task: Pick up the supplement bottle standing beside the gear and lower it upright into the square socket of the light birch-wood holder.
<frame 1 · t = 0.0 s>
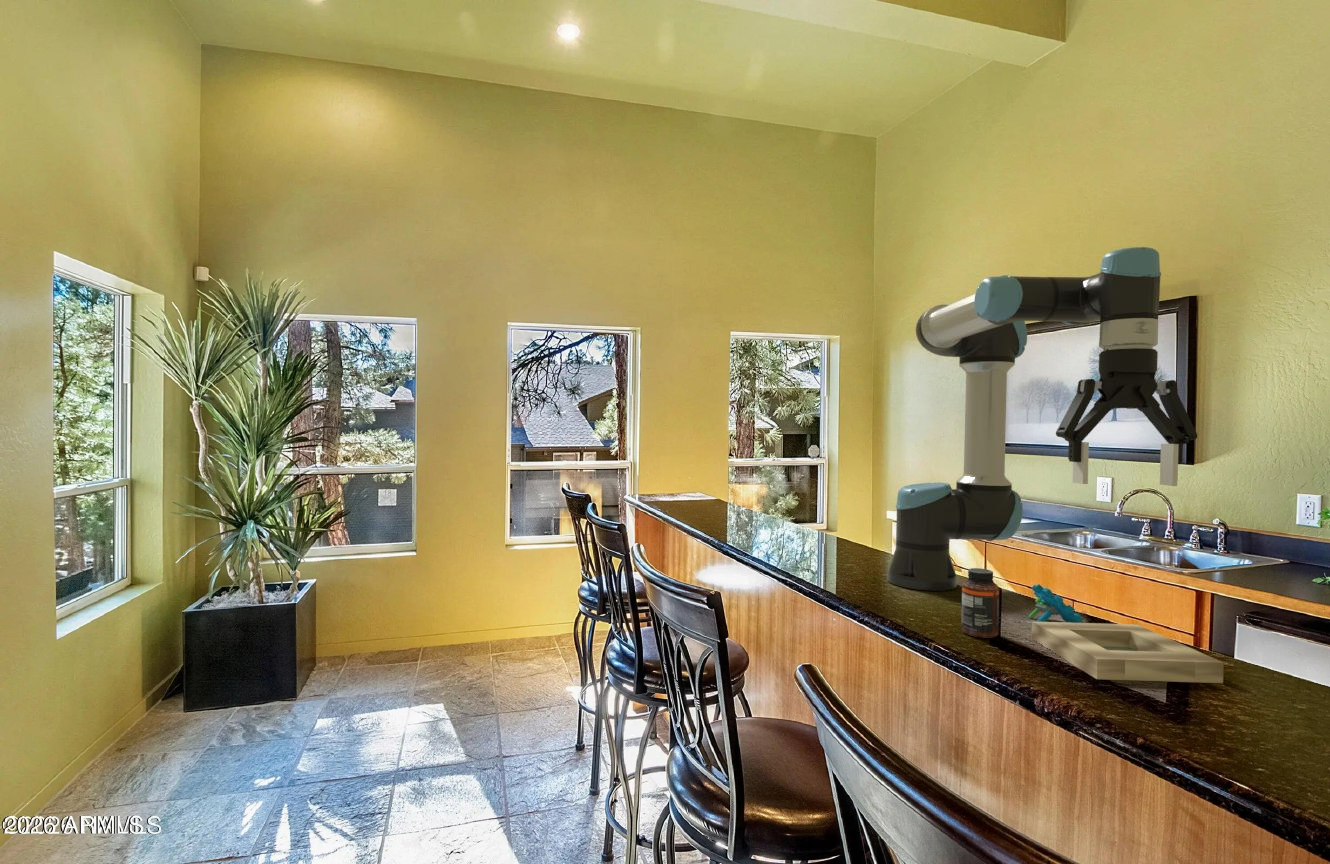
hand: (1124, 484, 102), 28 cm above the countertop, tool pointing down, fingers open, 13 cm apart
socket holder: (1118, 659, 104), on the countertop
gear: (1054, 626, 122), on the countertop
supplement bottle: (979, 635, 115), on the countertop
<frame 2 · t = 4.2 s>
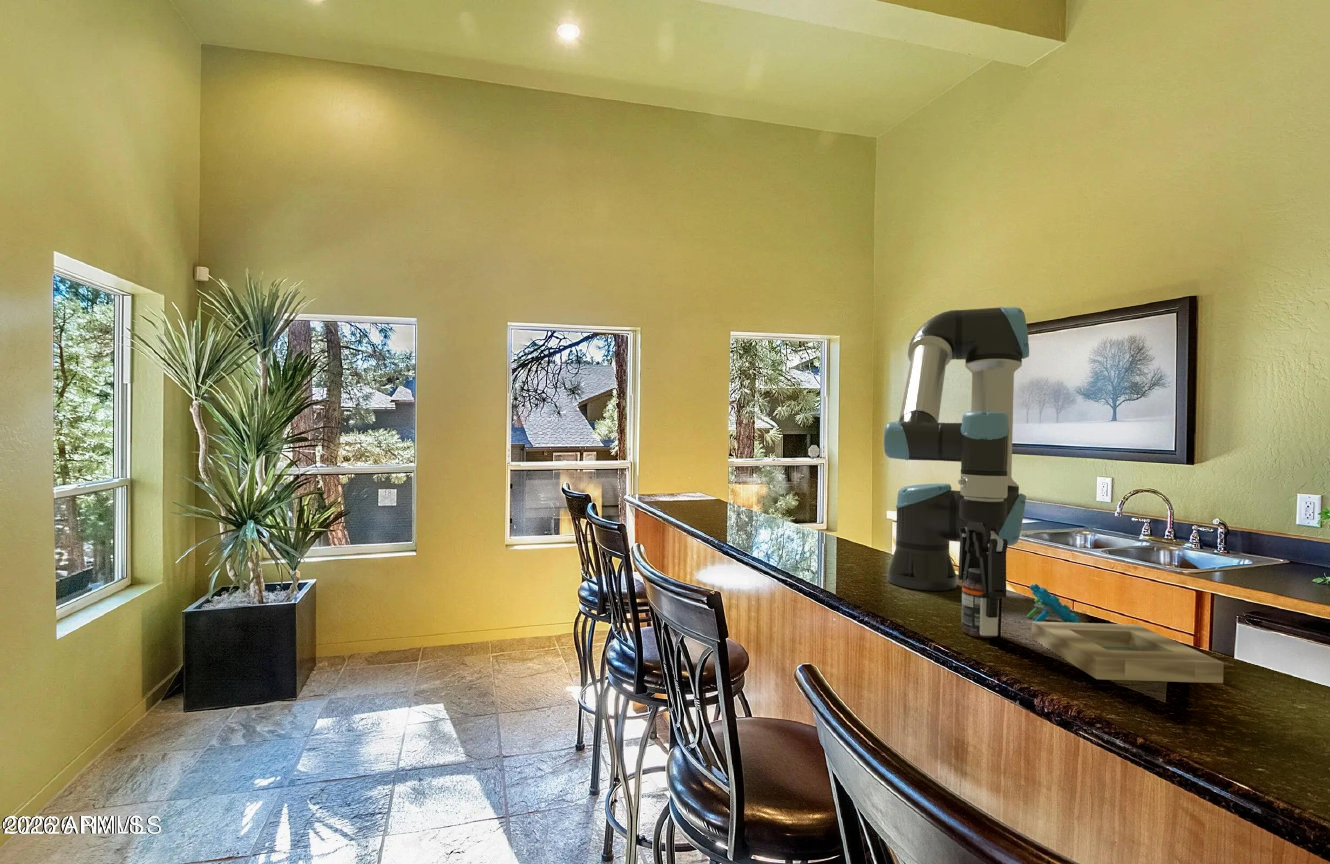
hand: (979, 628, 115), 1 cm above the countertop, tool pointing down, fingers closed on supplement bottle, 6 cm apart
supplement bottle: (979, 634, 115), on the countertop, touching gripper
everything else where it was.
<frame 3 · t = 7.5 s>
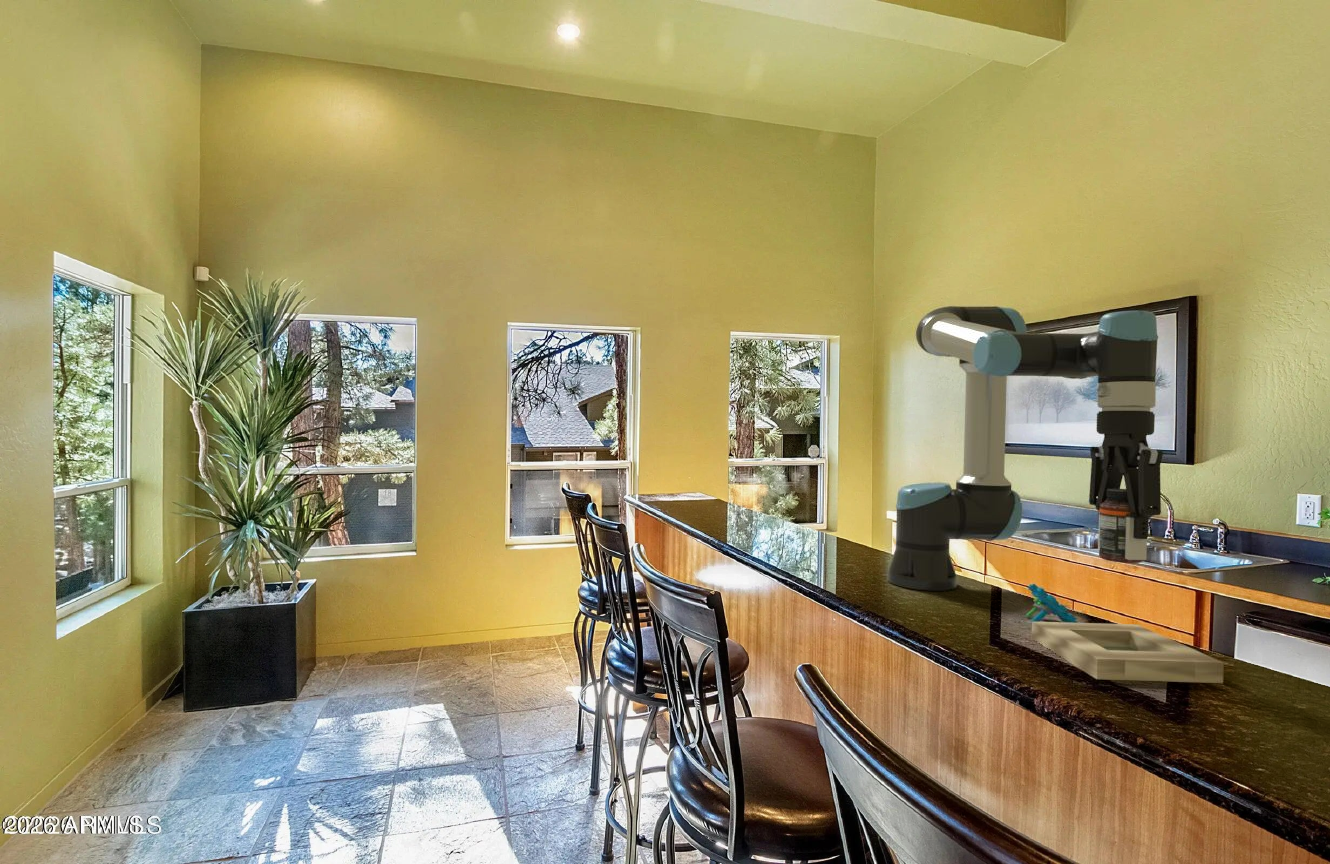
hand: (1121, 554, 104), 17 cm above the countertop, tool pointing down, fingers closed on supplement bottle, 6 cm apart
supplement bottle: (1120, 561, 104), point 16 cm above the countertop, touching gripper
everything else where it was.
when the fingers open (3 cm above the countertop, at t = 11.3 s): supplement bottle drops 2 cm, resting on socket holder.
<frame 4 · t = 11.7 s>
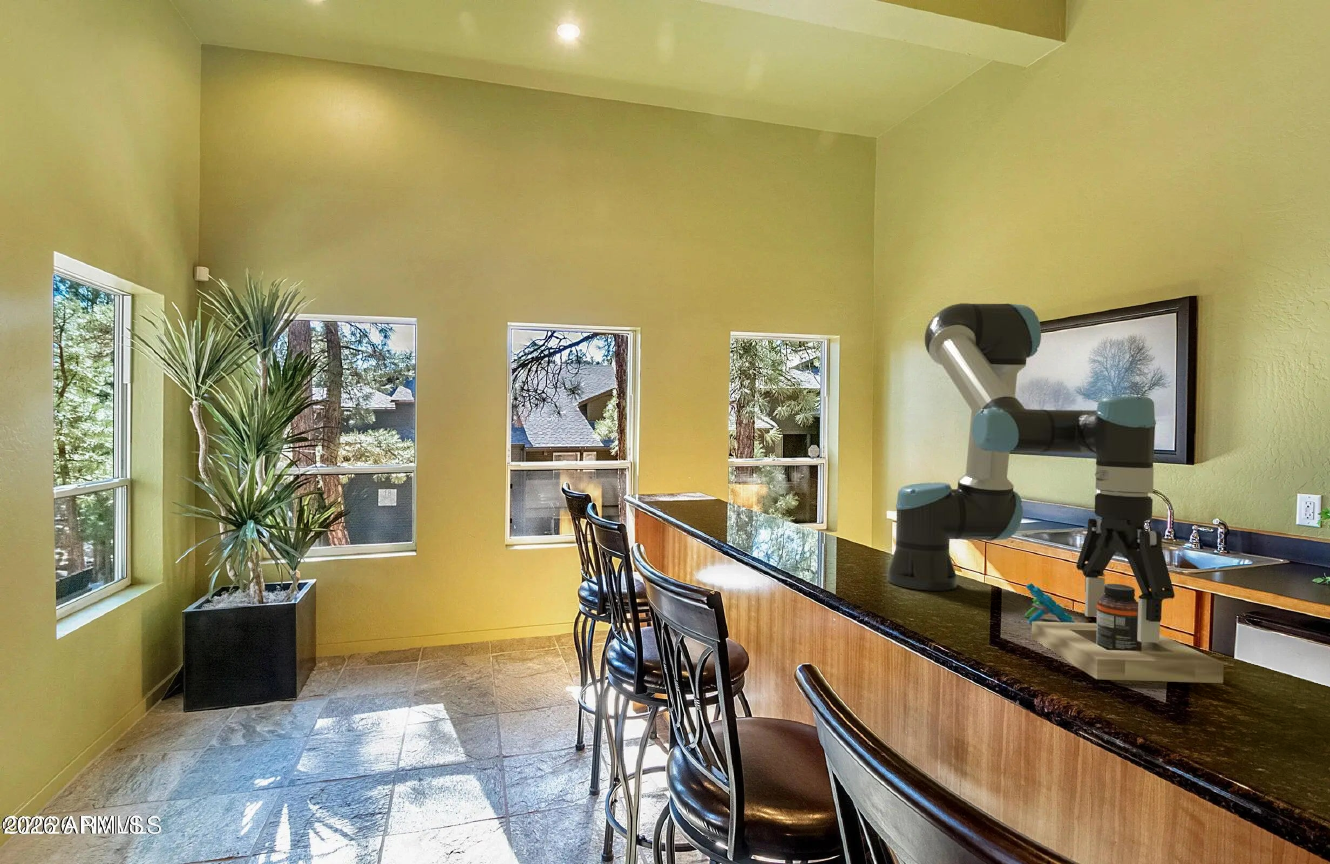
hand: (1119, 628, 104), 5 cm above the countertop, tool pointing down, fingers open, 12 cm apart
supplement bottle: (1118, 658, 104), resting on socket holder
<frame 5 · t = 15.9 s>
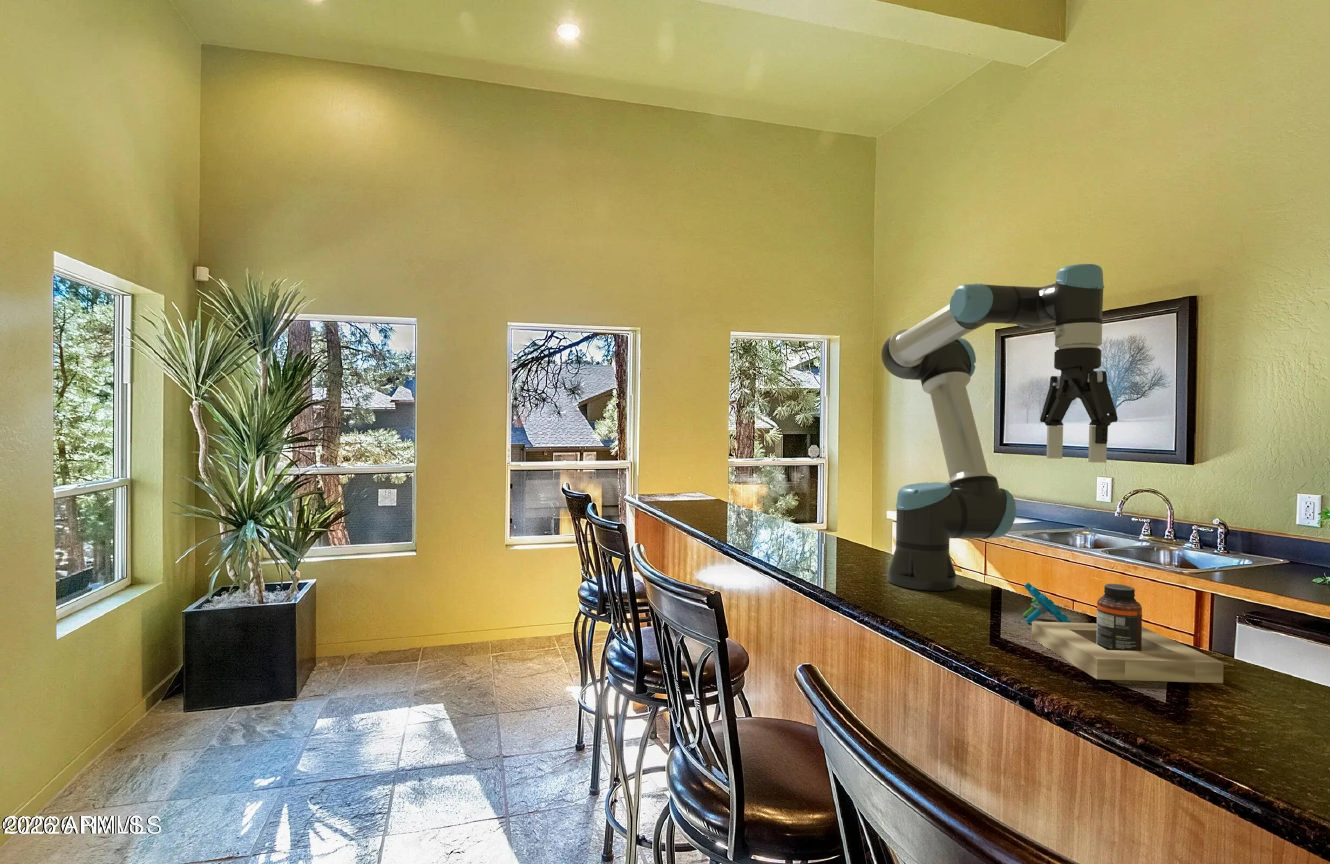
hand: (1074, 460, 123), 31 cm above the countertop, tool pointing down, fingers open, 13 cm apart
at the end: supplement bottle 0.1 cm off-centre on the socket holder, point 0.1 cm above the socket holder's base; supplement bottle tilted 0°; the gripper is holding nothing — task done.
